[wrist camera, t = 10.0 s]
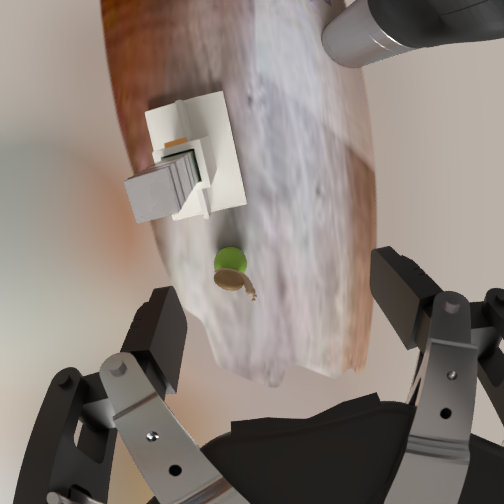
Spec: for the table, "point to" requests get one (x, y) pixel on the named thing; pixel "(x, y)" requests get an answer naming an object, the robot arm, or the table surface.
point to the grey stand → (200, 150)
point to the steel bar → (163, 186)
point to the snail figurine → (232, 271)
